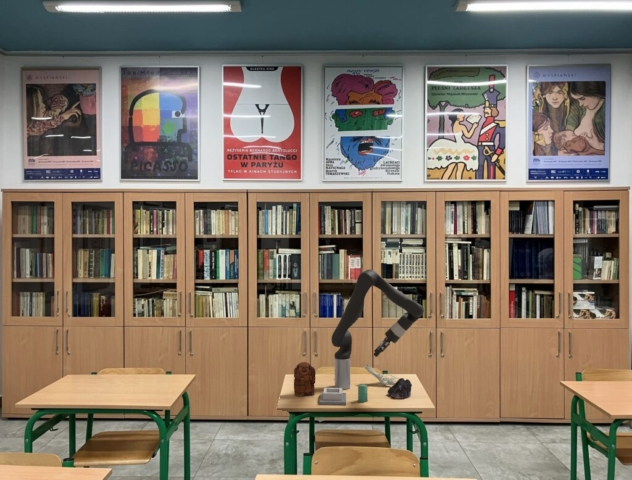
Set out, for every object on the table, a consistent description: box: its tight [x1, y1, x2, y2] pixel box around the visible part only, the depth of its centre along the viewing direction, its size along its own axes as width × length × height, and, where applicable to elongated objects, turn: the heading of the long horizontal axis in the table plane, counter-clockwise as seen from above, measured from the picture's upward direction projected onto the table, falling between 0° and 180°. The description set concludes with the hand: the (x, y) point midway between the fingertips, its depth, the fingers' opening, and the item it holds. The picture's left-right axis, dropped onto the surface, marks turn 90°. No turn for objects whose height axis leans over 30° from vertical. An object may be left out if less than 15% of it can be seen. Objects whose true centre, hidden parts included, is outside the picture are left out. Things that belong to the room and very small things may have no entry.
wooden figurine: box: [293, 361, 316, 397], centre depth 276 cm, size 12×6×18 cm, turn 100°
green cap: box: [357, 384, 369, 403], centre depth 264 cm, size 5×5×8 cm
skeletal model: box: [364, 363, 400, 386], centre depth 296 cm, size 16×9×25 cm
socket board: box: [318, 387, 347, 406], centre depth 266 cm, size 17×14×5 cm
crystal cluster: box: [386, 377, 413, 400], centre depth 274 cm, size 13×14×10 cm
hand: (375, 354), depth 266 cm, fingers open, 8 cm apart
